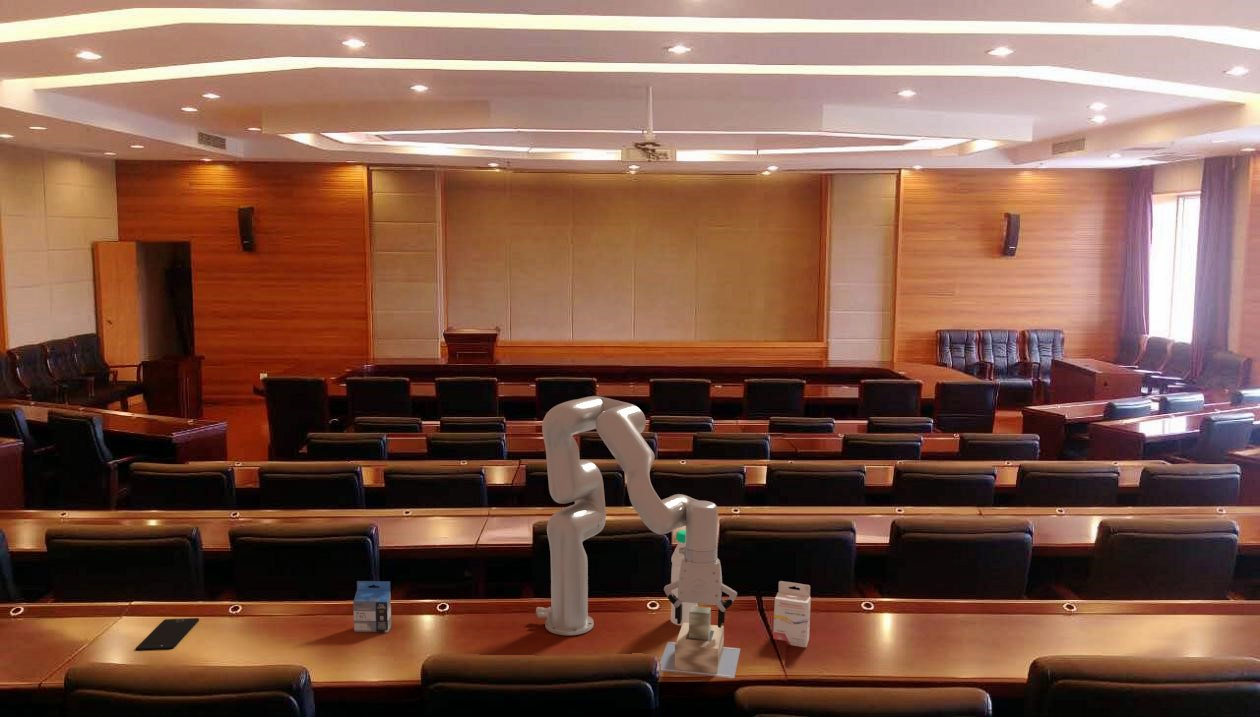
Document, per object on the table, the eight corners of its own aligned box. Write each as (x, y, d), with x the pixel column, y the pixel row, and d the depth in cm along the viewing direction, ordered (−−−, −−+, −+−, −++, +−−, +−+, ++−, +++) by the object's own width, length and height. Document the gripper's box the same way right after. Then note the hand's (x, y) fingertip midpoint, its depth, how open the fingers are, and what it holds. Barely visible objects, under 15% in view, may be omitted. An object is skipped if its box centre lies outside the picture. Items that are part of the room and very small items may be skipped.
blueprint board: (656, 674, 215) (656, 670, 215) (667, 645, 231) (667, 641, 231) (734, 682, 212) (734, 677, 212) (740, 652, 227) (740, 648, 227)
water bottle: (695, 630, 240) (697, 536, 237) (668, 628, 241) (669, 535, 238) (699, 619, 247) (700, 528, 244) (672, 617, 248) (673, 526, 245)
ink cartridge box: (772, 643, 233) (773, 586, 231) (776, 635, 237) (777, 580, 235) (806, 648, 230) (808, 591, 228) (809, 640, 234) (811, 584, 233)
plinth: (674, 669, 216) (674, 644, 215) (682, 645, 228) (683, 622, 228) (717, 673, 214) (717, 648, 213) (723, 649, 226) (723, 625, 226)
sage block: (688, 637, 219) (689, 613, 218) (691, 630, 223) (691, 606, 222) (708, 639, 218) (708, 615, 217) (710, 631, 222) (710, 607, 221)
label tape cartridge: (353, 632, 237) (351, 586, 236) (357, 626, 241) (356, 580, 240) (388, 633, 237) (386, 586, 236) (391, 626, 241) (390, 581, 240)
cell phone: (199, 621, 245) (199, 617, 245) (173, 650, 227) (172, 647, 227) (164, 622, 244) (164, 619, 244) (135, 652, 226) (135, 648, 226)
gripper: (662, 556, 216) (661, 626, 218) (736, 562, 213) (734, 633, 215) (667, 546, 223) (666, 614, 225) (739, 551, 220) (737, 620, 222)
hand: (699, 623), depth 220 cm, fingers open, 9 cm apart
